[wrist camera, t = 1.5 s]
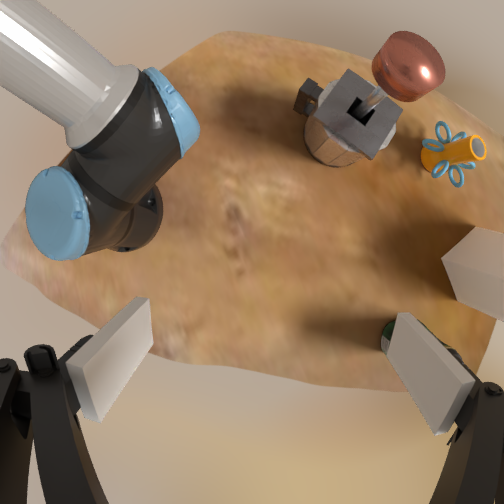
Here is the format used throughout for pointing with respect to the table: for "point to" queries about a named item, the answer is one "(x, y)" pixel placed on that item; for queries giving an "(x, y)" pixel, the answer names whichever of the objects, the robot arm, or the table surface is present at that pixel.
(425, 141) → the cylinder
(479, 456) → the robot arm
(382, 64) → the plunger
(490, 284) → the milk
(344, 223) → the table surface
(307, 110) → the press carafe
